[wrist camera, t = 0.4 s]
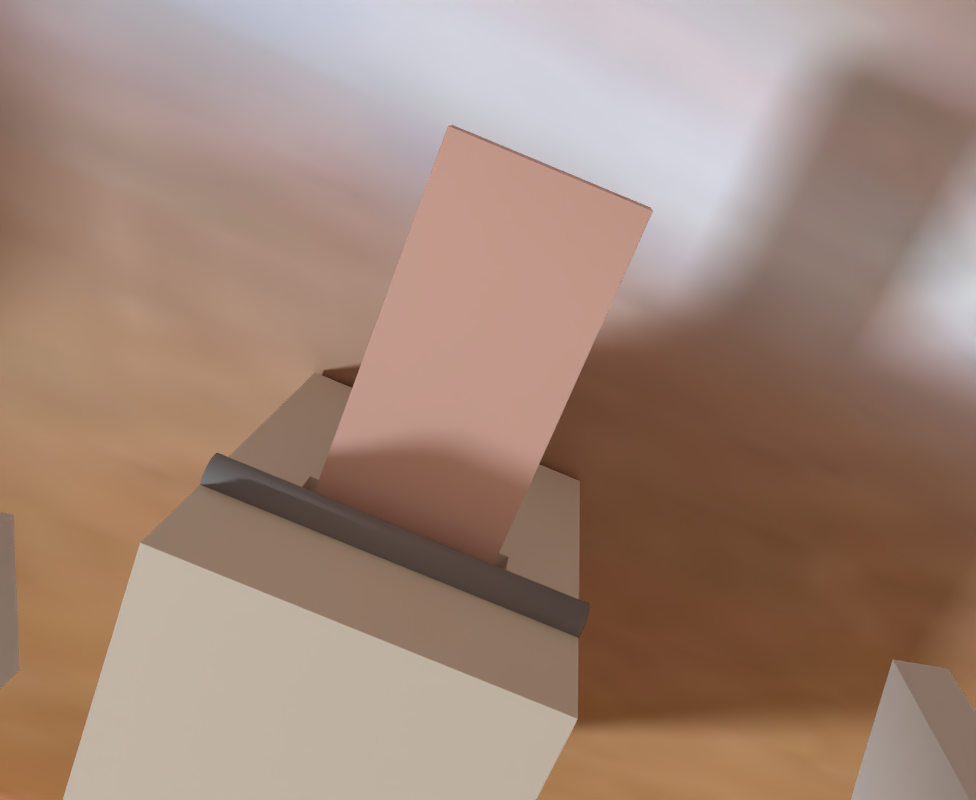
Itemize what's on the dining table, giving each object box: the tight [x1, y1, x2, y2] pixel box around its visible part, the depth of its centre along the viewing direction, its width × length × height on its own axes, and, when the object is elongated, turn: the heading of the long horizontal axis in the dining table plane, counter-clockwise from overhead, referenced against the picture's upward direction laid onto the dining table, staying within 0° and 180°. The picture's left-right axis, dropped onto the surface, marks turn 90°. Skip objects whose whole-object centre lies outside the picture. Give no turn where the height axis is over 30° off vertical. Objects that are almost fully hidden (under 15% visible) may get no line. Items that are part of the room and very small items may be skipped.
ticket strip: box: [315, 125, 653, 565], centre depth 29 cm, size 6×24×1 cm, turn 158°
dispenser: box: [63, 373, 589, 800], centre depth 33 cm, size 12×15×16 cm
